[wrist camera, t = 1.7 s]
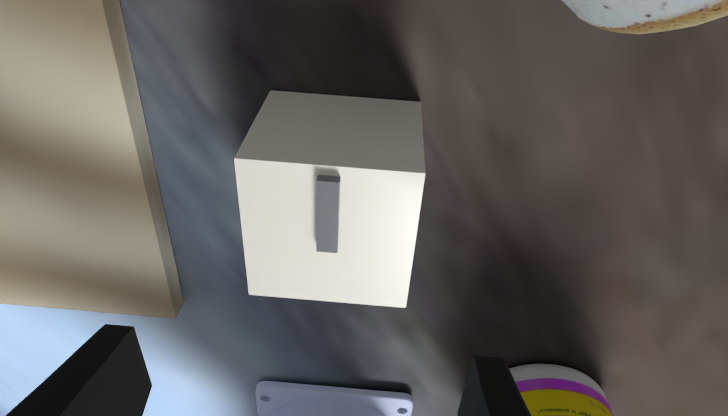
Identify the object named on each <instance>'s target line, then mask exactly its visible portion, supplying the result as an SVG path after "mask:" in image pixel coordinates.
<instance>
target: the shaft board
mask: <svg viewBox="0 0 728 416" xmlns="http://www.w3.org/2000/svg"><path fill="white" fill-rule="evenodd" d="M183 302H184V301H183V296H182V291H181V287H180V282H179V277H178V273H177V268H176V263H175V259H174V254H173V249H172V245H171V240H170V235H169V231H168V226H167V221H166V217H165V212H164V207H163V203H162V198H161V193H160V189H159V184H158V179H157V175H156V170H155V165H154V161H153V156H152V151H151V147H150V142H149V137H148V132H147V128H146V123H145V118H144V114H143V109H142V104H141V100H140V95H139V90H138V86H137V81H136V76H135V72H134V67H133V62H132V58H131V53H130V48H129V44H128V39H127V34H126V30H125V25H124V20H123V16H122V11H121V6H120V2H119V0H0V304H12V305H24V306H35V307H47V308H59V309H71V310H82V311H94V312H106V313H118V314H129V315H141V316H153V317H165V318H176V317H177V315H178V313H179V311H180V309H181V307H182V304H183Z"/></svg>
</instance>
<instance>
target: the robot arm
mask: <svg viewBox="0 0 728 416" xmlns="http://www.w3.org/2000/svg"><path fill="white" fill-rule="evenodd" d="M151 387H152V384H151V381H150V378H149V375H148V371H147V368H146V365H145V362H144V358H143V355H142V352H141V349H140V345H139V342H138V339H137V336H136V332H135V329H134V327H131V326H120V325H108V324H105V325H104V326H103V327H102V328H101V329H99V330H98V331H97V332H96V333H95V334H94V335H93V336H92V337H91V338H90V339H89V340H88V341H86V342H85V343H84V344H83V345H82V346H81V347H80V348H79V349H78V350H77V351H76V352H75V353H74V354H73V355H72V356H71V357H69V358H68V359H67V360H66V361H65V362H64V363H63V364H62V365H61V366H60V367H59V368H58V369H57V370H56V371H54V372H53V373H52V374H51V375H50V376H49V377H48V378H47V379H46V380H45V381H44V382H43V383H42V384H40V385H39V386H38V387H37V388H36V389H35V390H34V391H33V392H32V393H30V394H29V395H28V396H27V397H26V398H25V399H24V400H23V401H21V402H20V403H19V404H18V405H17V406H16V407H15V408H14V409H13V410H11V411H10V412H9V413H8V414H7V415H6V416H142V414H143V412H144V409H145V405H146V402H147V399H148V396H149V393H150V390H151ZM255 394H256V403H257V412H258V416H411V414H412V409H413V397H412V396H411V395H409V394H407V393H401V392H389V391H378V390H366V389H355V388H343V387H332V386H320V385H309V384H297V383H286V382H274V381H261V382H259V383H257V386H256V390H255ZM458 416H531V414H530V412H529V410H528V408H527V406H526V404H525V402H524V400H523V398H522V395H521V393H520V391H519V389H518V387H517V385H516V383H515V380H514V378H513V376H512V374H511V372H510V369H509V367H508V365H507V362H506V361H505V360H504V359H503V358H494V357H482V356H473V359H472V363H471V366H470V370H469V373H468V377H467V381H466V384H465V388H464V391H463V395H462V399H461V402H460V406H459V409H458Z"/></svg>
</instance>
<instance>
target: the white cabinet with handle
mask: <svg viewBox="0 0 728 416" xmlns="http://www.w3.org/2000/svg"><path fill="white" fill-rule="evenodd" d="M234 163H235V172H236V181H237V191H238V200H239V209H240V218H241V228H242V237H243V246H244V255H245V265H246V274H247V283H248V292H249V295H257V296H269V297H281V298H293V299H305V300H317V301H329V302H341V303H352V304H364V305H376V306H388V307H400V308H406V304H407V297H408V290H409V283H410V276H411V270H412V263H413V256H414V249H415V242H416V235H417V228H418V222H419V215H420V208H421V201H422V194H423V187H424V180H425V158H424V143H423V128H422V113H421V102H417V101H404V100H391V99H378V98H365V97H352V96H339V95H325V94H312V93H299V92H286V91H273V90H270V92H269V94H268V96H267V97H266V99H265V101H264V103H263V105H262V107H261V109H260V111H259V112H258V114H257V116H256V118H255V120H254V122H253V124H252V126H251V127H250V129H249V131H248V133H247V135H246V137H245V139H244V141H243V142H242V144H241V146H240V148H239V150H238V152H237V154H236V156H235V157H234Z"/></svg>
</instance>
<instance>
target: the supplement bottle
mask: <svg viewBox="0 0 728 416" xmlns="http://www.w3.org/2000/svg"><path fill="white" fill-rule="evenodd" d="M509 369H510V372H511V374H512V376H513V378H514V380H515V383H516V385H517V387H518V389H519V391H520V393H521V395H522V398H523V400H524V402H525V404H526V406H527V408H528V410H529V412H530V414H531V416H613V414H612V411H611V409H610V406H609V404H608V401H607V399H606V396H605V394H604V392H603V391H602V389H601V388H600V386H599V385H598V384H597V383H596V382H595V381H594V380H593V379H591V378H590V377H589V376H587V375H585V374H584V373H582V372H580V371H577V370H575V369H572V368H569V367H565V366H560V365H554V364H527V365H520V366H516V367H512V368H509Z"/></svg>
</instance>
